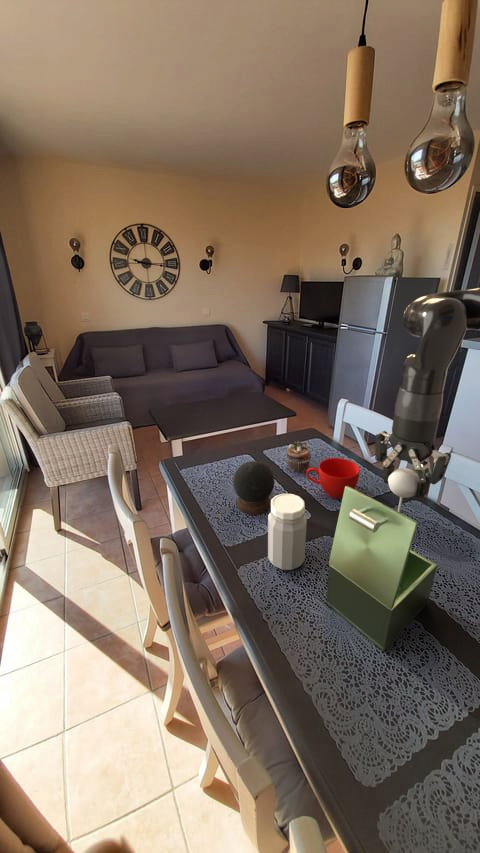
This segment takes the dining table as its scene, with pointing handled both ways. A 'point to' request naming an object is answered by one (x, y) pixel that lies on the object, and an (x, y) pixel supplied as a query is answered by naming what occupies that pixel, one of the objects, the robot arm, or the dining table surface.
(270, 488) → the dark sphere on stand
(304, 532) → the jar
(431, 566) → the bin
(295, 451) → the cupcake
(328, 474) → the ceramic cup
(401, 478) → the lollipop
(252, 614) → the dining table surface
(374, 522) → the green lid with handle
